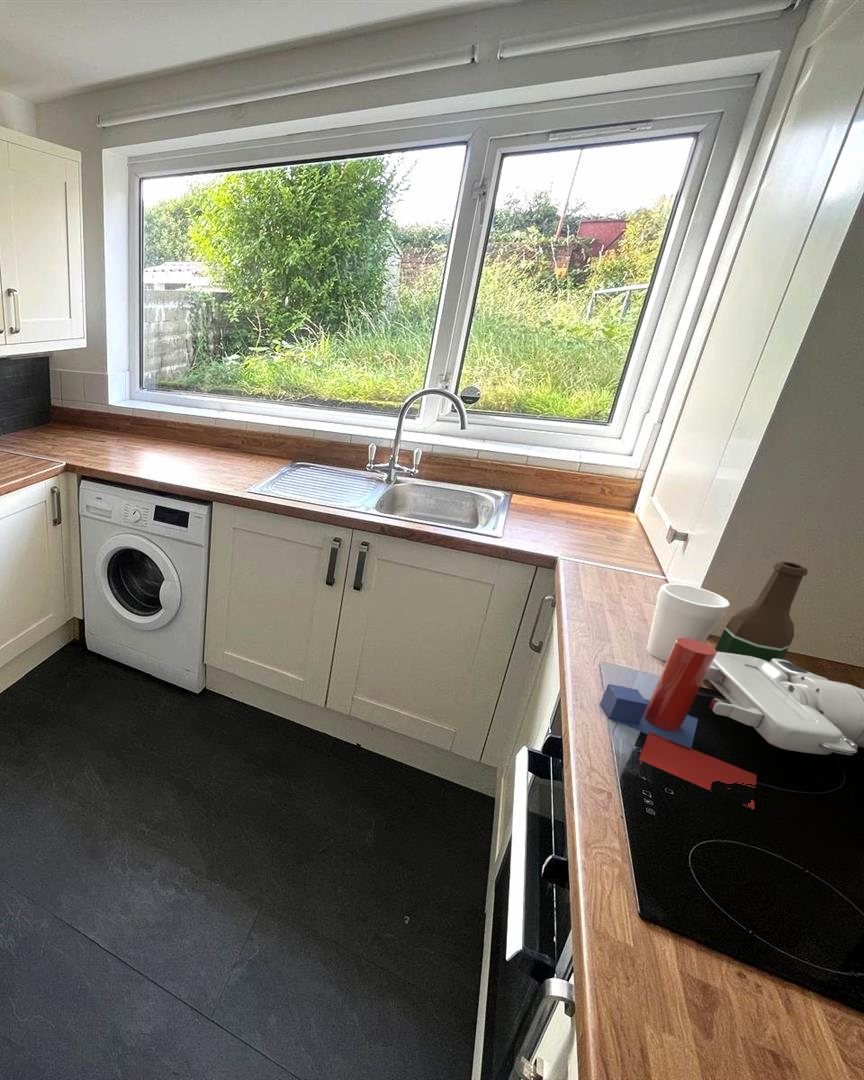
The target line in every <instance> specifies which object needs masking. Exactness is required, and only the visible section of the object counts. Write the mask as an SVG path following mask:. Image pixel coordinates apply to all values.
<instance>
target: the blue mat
mask: <svg viewBox="0 0 864 1080" xmlns="http://www.w3.org/2000/svg"><path fill="white" fill-rule="evenodd" d="M644 699H645V701H646V702H647V704H648V702H649V700H650V699H647V698H644ZM610 720H612V721H614V722H617V723H619V724H621V725H624V726H626V727H628V728H631V729H634V730H636V731H637V732H638V731H639V732H641V733H643V734H645V735H648V734H649V732H652V733H654V734H657V735H659V736H661V737H664V738H665V740H667V739H669V740H671V742H672V741H674V743H675V742H676V743H678V744H673V745H677V746H678V747H680V746H681V747H683V748H684V749H686V747H688V748H687V749H686V750H688V751H691V750H690V748H691V749H693V748H692V747H693V744H694V739H695V735H696V731H697V726H698V723H699V718H697V717H695V716H691V715H689V714H687V716H686V718H685V720H684V722H683V725H682V727H681V729H680V730H679V731H667V730H664V729H661V728H658V727H656V726H654V725H652V724H651V723H649V722H648V721H647V720H646V719H645V718H644V717H643V716H642V719H641V721H640V723H639V725H637V724H632V723H627V722H623V721H618V720H613V719H610ZM654 734H653V735H654ZM650 735H651V733H650ZM654 736H655V735H654ZM657 737H658V736H657ZM667 741H668V740H667ZM668 742H669V741H668ZM671 742H669V743H671ZM672 743H673V742H672ZM672 743H671V744H672ZM680 744H681V745H680ZM679 745H680V746H679ZM682 745H683V746H682Z"/></svg>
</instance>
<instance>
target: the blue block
mask: <svg viewBox="0 0 864 1080" xmlns="http://www.w3.org/2000/svg"><path fill="white" fill-rule="evenodd" d="M645 699H646V698H645V697H643V696H642V694H641V692H640V690H638V689H636V688H631V687H626V686H621V685H617V684H611V683H608V684H607V685H606V688H605V690H604V693H603V694H602V698H601V700H600V703H599V705H600V706H601V708H602V710H603V712H604V713H605V714H606V716H607V719H609V720H611V719H613V720H612V721H614V720H618V721H623V722H627V723H632V724H637V725H639V723H640V721H641V719H642V716H643V714H644V712H645V710H646V707H647V705H648V704H647V702H646V701H645Z"/></svg>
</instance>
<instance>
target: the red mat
mask: <svg viewBox="0 0 864 1080" xmlns="http://www.w3.org/2000/svg"><path fill="white" fill-rule="evenodd" d="M650 733H651V735H650ZM653 734H654V733H652V732H649V734H646V738H645V741H644V744H643V747H642V749H641V752H640V756H639V758H638V760H639V761H641V762H643V763H645V764H647V765H649V766H652V767H654V768H656V769H659V770H661V771H664V772H666V773H668V774H670V775H673V776H674V777H677V778H680V779H682V780H683V781H686V782H689V783H691V784H693V785H696V786H698V787H699V788H702V789H705V790H707V791H709V790H710V789H711V786H712V785H711V784H712V782H715V781H720V782H723V783H726V784H733V783H737V782H738V783H737V784H742V783H744V784H742V785H746V784H752V785H756V787H755V786H751V785H746V786H749V787H753V788H757V774H755V773H752V772H750V771H748V770H746V769H743V768H740V767H738V766H735V765H733V764H730V763H728V762H725V761H723V760H722V759H721V760H720V759H719V758H716V757H713V756H711V755H708V754H705V753H703V752H700V751H698V750H695V749H693V748H690V750H691V751H688V750H686V749H687V748H688V747H686V749H684V748H683V747H681V746H680V745H681V744H680V745H679V746H680V747H678V746H677V745H673V744H678V743H676V742H675V743H674V741H672V742H673V743H672V742H671V740H669V739H667V740H668V741H669V742H671V743H672V744H671V743H669V742H668V741H667V740H665V738H664V737H661V736H659V735H657V734H654V735H655V736H654V735H653ZM657 736H658V737H657ZM682 746H683V745H682ZM727 788H728V787H727ZM728 789H731V788H728ZM709 792H712V791H711V790H710V791H709ZM755 802H756V801H755ZM755 802H754V801H753V800H751V803H748V806H747V805H745V804H743V805H742V806H744V805H745V806H744V807H746V806H747V807H746V808H748V807H749V809H750V807H751V810H753V809H754V810H755Z"/></svg>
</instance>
